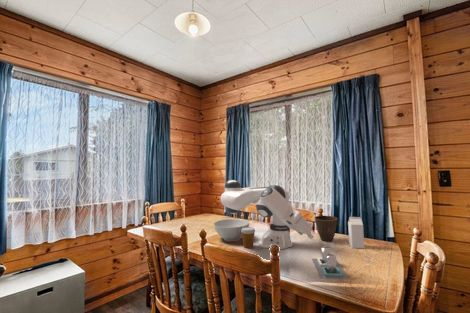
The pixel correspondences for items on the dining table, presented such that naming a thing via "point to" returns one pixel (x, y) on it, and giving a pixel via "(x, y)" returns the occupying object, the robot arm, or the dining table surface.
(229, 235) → the decorative bowl
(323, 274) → the grey flat plate
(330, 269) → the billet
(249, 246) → the disposable coffee cup
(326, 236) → the plant pot
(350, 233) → the milk carton
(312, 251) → the dining table surface
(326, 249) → the grey tall round-topped piece
